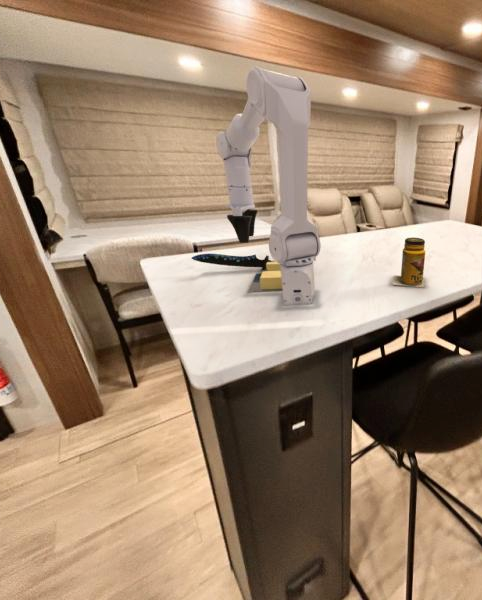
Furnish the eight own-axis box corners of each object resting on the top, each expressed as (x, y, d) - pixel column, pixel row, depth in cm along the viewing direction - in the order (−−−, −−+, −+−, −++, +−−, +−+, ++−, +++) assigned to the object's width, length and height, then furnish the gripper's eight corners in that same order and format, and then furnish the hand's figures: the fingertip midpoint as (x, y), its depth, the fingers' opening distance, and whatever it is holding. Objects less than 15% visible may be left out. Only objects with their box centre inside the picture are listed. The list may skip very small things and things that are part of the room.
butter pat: (290, 274, 85) (289, 263, 84) (267, 274, 84) (265, 264, 83) (290, 271, 87) (289, 261, 86) (268, 272, 86) (266, 262, 85)
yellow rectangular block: (287, 288, 75) (286, 277, 74) (261, 289, 74) (259, 277, 73) (288, 281, 80) (287, 270, 79) (264, 282, 79) (262, 271, 77)
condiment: (423, 287, 82) (428, 243, 77) (392, 285, 83) (394, 241, 78) (423, 278, 89) (427, 237, 84) (394, 276, 89) (396, 235, 84)
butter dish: (299, 293, 75) (299, 290, 75) (247, 295, 73) (246, 292, 72) (301, 274, 88) (301, 272, 87) (256, 276, 85) (256, 273, 85)
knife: (307, 273, 92) (307, 258, 91) (306, 276, 89) (306, 261, 88) (196, 264, 87) (195, 249, 86) (192, 267, 84) (190, 252, 83)
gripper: (229, 184, 85) (237, 233, 90) (214, 188, 72) (224, 245, 77) (256, 185, 86) (262, 233, 92) (247, 189, 73) (254, 245, 79)
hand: (247, 239), depth 84 cm, fingers open, 7 cm apart
